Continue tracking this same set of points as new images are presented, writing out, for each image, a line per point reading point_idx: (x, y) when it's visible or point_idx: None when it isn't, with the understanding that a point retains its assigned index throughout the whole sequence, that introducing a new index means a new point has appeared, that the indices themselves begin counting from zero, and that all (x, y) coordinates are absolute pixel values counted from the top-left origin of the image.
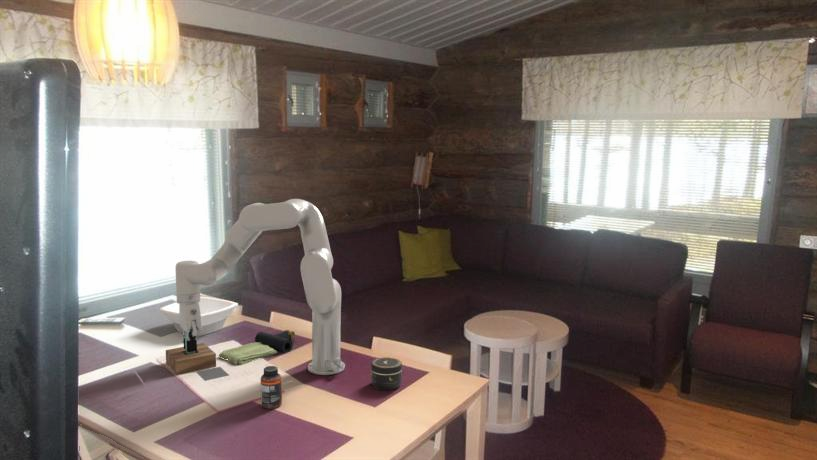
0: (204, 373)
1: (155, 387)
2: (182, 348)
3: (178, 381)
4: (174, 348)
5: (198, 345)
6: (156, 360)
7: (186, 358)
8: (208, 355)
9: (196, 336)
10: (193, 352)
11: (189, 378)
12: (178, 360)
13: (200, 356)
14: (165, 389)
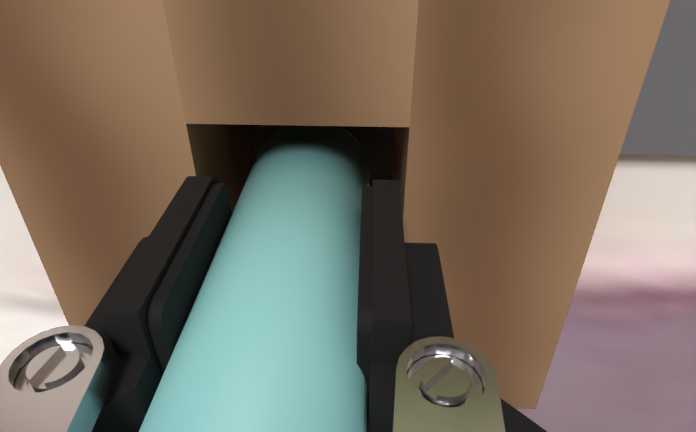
0: (693, 98)
1: (595, 425)
2: (102, 257)
3: (624, 310)
4: (71, 323)
5: (19, 20)
6: (36, 313)
7: (531, 320)
8: (655, 35)
9: (500, 429)
10: (360, 196)
11: (641, 233)
12: (529, 390)
13: (610, 169)
14: (686, 398)
